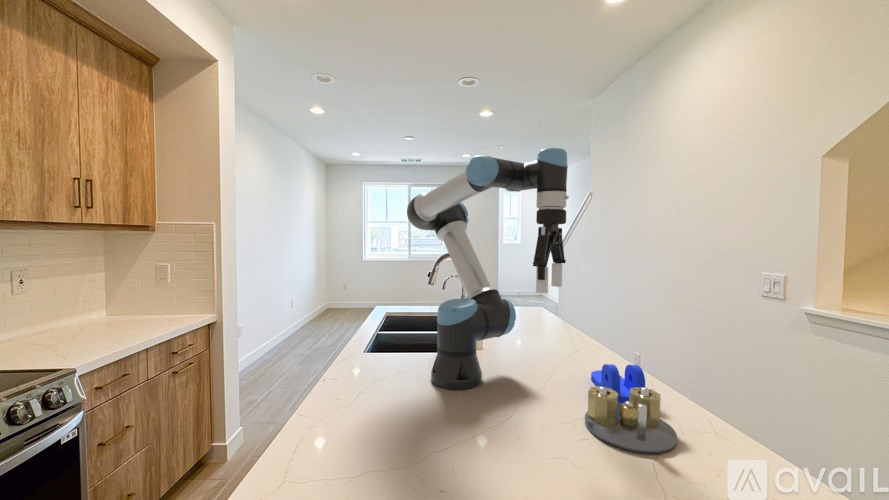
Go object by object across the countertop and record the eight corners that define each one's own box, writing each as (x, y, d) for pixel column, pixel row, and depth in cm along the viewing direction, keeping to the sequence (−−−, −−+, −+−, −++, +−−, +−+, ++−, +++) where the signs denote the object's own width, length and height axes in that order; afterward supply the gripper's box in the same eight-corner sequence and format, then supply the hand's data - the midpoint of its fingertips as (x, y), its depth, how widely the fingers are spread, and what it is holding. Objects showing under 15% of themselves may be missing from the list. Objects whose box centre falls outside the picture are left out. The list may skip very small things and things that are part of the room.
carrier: (577, 436, 76) (578, 398, 76) (592, 403, 91) (593, 372, 91) (677, 466, 67) (679, 423, 66) (676, 423, 82) (677, 388, 81)
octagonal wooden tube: (586, 419, 81) (586, 393, 81) (591, 408, 86) (591, 384, 86) (615, 427, 78) (616, 400, 77) (618, 415, 83) (619, 390, 82)
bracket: (644, 405, 91) (645, 370, 91) (611, 404, 91) (612, 369, 91) (614, 377, 109) (615, 348, 109) (586, 376, 109) (587, 347, 109)
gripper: (552, 204, 81) (550, 297, 82) (576, 211, 102) (574, 285, 103) (520, 206, 85) (519, 294, 86) (550, 212, 106) (548, 283, 107)
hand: (549, 289), depth 94 cm, fingers open, 13 cm apart
